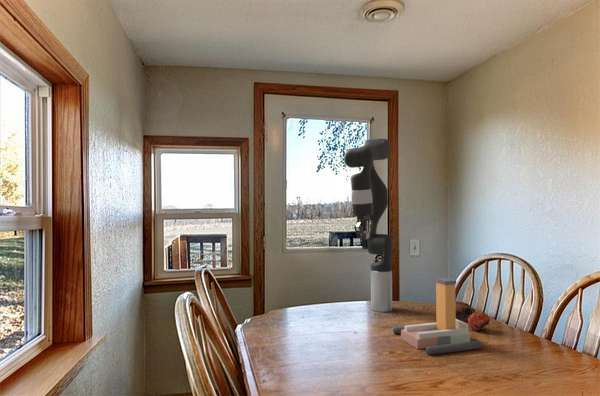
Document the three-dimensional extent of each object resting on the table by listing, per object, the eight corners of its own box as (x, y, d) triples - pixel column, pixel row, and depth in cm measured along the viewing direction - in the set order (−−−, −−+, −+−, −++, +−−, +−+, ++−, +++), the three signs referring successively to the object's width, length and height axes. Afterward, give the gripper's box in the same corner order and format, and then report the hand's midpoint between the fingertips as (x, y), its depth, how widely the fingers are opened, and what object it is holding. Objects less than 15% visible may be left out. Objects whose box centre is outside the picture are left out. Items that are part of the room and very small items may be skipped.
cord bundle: (394, 335, 136) (394, 328, 136) (391, 332, 138) (391, 326, 138) (443, 329, 142) (443, 323, 142) (439, 327, 144) (439, 321, 144)
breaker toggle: (445, 332, 128) (445, 281, 129) (435, 327, 134) (435, 278, 134) (456, 331, 130) (456, 280, 130) (446, 326, 135) (446, 277, 135)
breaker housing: (417, 349, 123) (417, 330, 123) (401, 338, 132) (400, 321, 132) (469, 342, 128) (469, 324, 128) (450, 333, 138) (450, 316, 138)
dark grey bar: (428, 356, 117) (428, 348, 117) (424, 353, 119) (424, 345, 119) (484, 349, 122) (484, 341, 122) (478, 346, 125) (478, 339, 125)
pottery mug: (442, 320, 154) (443, 300, 158) (456, 328, 158) (457, 308, 162) (469, 320, 145) (470, 299, 149) (484, 327, 149) (484, 307, 153)
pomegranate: (492, 336, 141) (473, 314, 148) (501, 324, 137) (481, 302, 144) (477, 341, 138) (459, 319, 145) (486, 329, 134) (467, 306, 141)
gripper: (364, 203, 133) (368, 252, 134) (378, 200, 144) (381, 245, 145) (345, 204, 137) (349, 252, 138) (359, 200, 148) (363, 245, 149)
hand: (365, 248), depth 142 cm, fingers closed
